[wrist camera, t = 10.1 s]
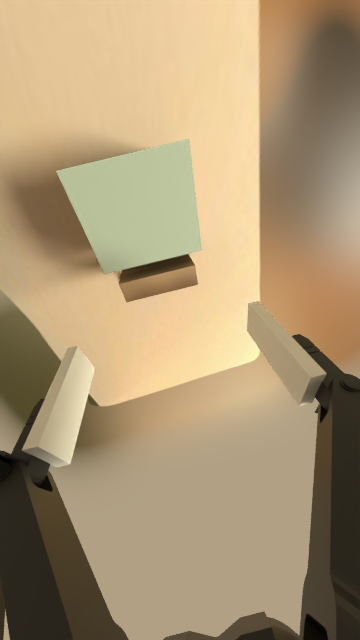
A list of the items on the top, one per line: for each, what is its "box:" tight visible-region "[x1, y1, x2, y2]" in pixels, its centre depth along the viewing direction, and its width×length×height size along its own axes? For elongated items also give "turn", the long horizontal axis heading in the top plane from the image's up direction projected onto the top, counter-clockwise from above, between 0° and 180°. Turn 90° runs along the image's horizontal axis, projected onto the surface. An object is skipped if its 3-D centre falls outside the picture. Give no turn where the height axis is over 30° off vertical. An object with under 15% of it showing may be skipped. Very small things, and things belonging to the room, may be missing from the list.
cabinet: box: [56, 139, 202, 274], centre depth 24 cm, size 15×12×11 cm
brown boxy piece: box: [119, 254, 198, 302], centre depth 27 cm, size 4×9×11 cm, turn 101°
